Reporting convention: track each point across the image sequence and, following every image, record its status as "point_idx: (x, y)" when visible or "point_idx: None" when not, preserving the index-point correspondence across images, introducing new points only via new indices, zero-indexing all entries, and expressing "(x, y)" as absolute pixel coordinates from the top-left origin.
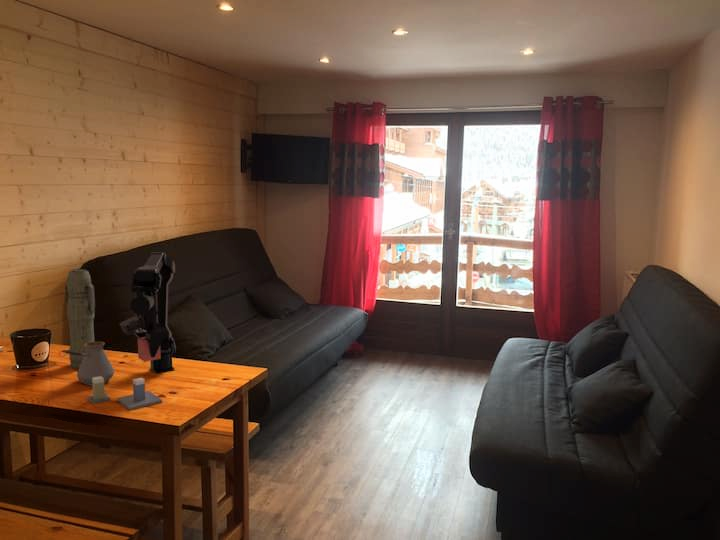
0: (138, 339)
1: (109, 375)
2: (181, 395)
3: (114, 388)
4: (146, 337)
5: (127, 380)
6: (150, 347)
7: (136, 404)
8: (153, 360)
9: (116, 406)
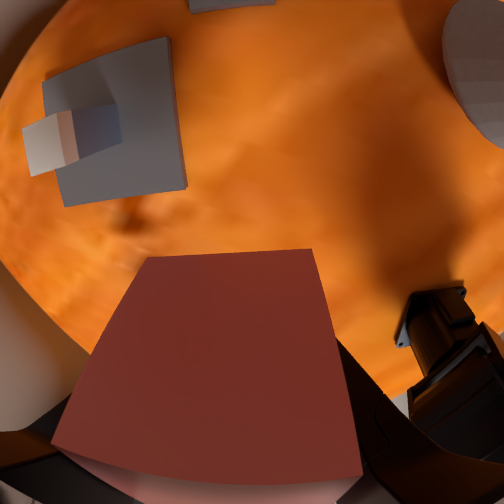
0: (316, 462)
1: (458, 93)
2: (113, 279)
3: (358, 73)
4: (18, 490)
5: (425, 168)
6: (68, 396)
7: (56, 109)
8: (450, 319)
9: (105, 35)
